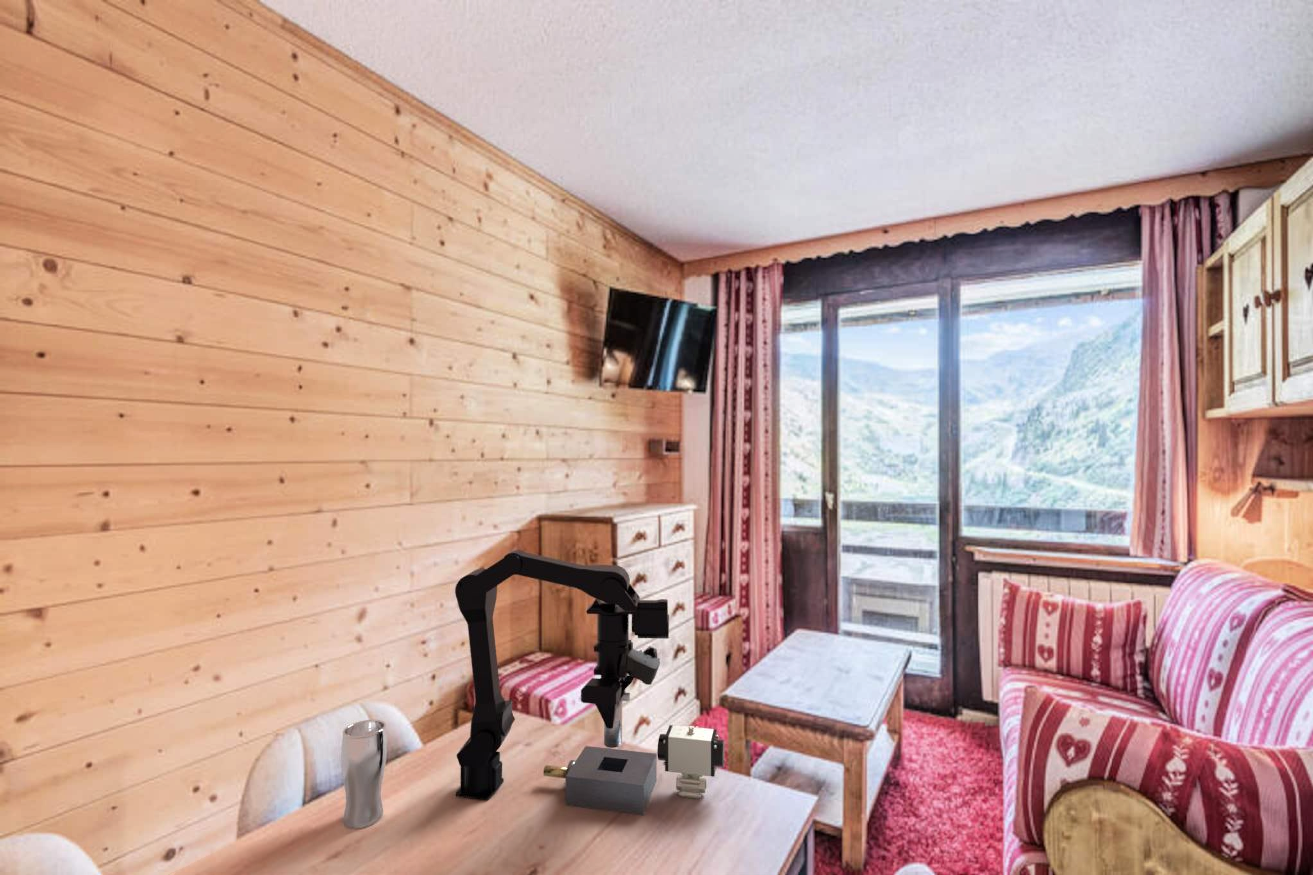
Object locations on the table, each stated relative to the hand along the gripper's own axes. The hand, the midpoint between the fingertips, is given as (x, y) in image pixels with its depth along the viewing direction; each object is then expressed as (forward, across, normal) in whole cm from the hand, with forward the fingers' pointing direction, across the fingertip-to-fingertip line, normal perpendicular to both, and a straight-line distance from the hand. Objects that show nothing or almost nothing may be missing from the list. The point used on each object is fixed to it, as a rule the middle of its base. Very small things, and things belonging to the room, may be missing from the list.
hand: (612, 723), depth 109 cm
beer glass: (+12, -16, +39) cm, 44 cm away
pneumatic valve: (+13, +3, -14) cm, 19 cm away
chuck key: (+4, 0, 0) cm, 4 cm away
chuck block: (+12, 0, +3) cm, 13 cm away
